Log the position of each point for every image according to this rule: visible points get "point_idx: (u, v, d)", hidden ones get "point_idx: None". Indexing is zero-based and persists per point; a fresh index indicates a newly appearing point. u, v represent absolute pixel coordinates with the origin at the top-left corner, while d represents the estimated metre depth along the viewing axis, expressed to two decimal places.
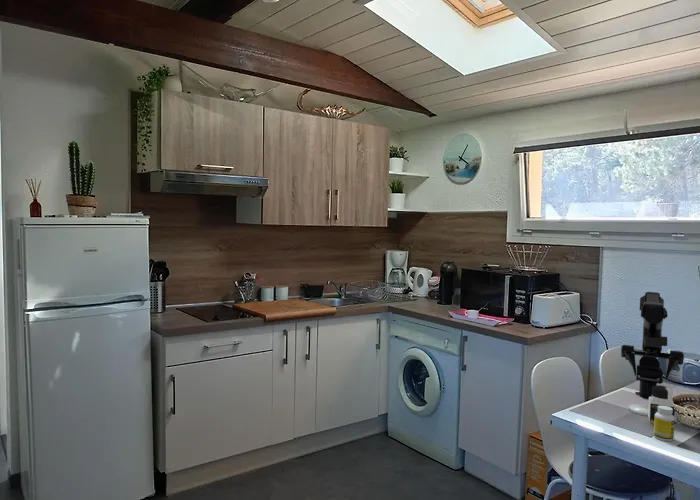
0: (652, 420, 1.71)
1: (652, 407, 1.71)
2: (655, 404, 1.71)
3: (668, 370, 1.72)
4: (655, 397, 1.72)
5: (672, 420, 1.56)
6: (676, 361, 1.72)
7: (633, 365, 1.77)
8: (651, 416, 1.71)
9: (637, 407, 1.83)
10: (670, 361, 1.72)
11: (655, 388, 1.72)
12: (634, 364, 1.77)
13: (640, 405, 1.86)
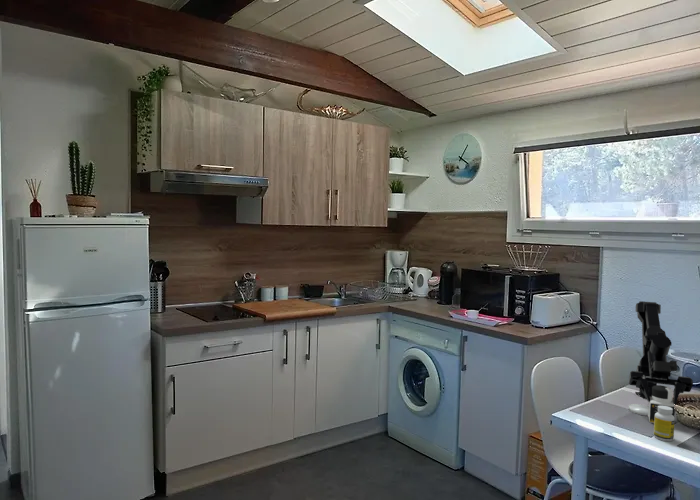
0: (652, 420, 1.71)
1: (652, 407, 1.71)
2: (655, 404, 1.71)
3: (676, 395, 1.72)
4: (655, 397, 1.72)
5: (672, 420, 1.56)
6: (683, 386, 1.73)
7: (646, 391, 1.75)
8: (651, 416, 1.71)
9: (637, 407, 1.83)
10: (677, 386, 1.73)
11: (655, 388, 1.72)
12: (647, 390, 1.75)
13: (640, 405, 1.86)
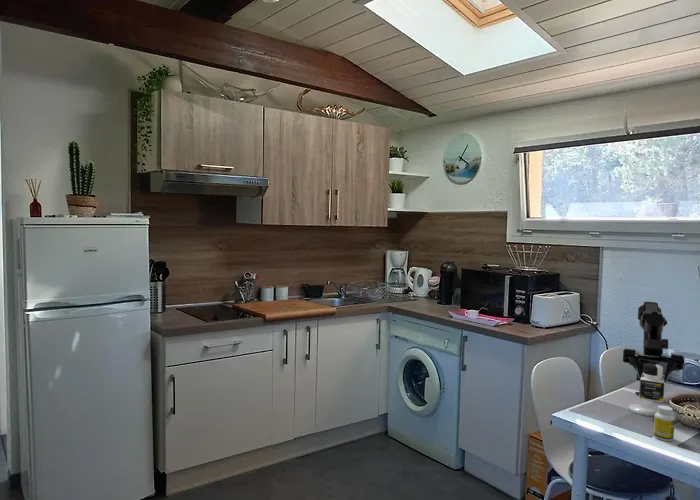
0: (642, 396, 1.76)
1: (642, 383, 1.76)
2: (645, 380, 1.76)
3: (667, 372, 1.76)
4: (645, 374, 1.77)
5: (672, 420, 1.56)
6: (674, 364, 1.76)
7: (638, 368, 1.80)
8: (641, 392, 1.76)
9: (637, 407, 1.83)
10: (668, 363, 1.76)
11: (645, 365, 1.77)
12: (639, 367, 1.80)
13: (640, 405, 1.86)
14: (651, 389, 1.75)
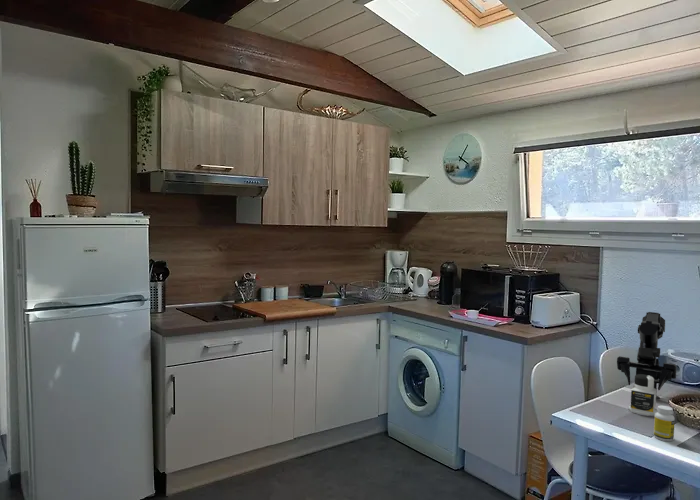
0: (633, 406, 1.81)
1: (632, 394, 1.81)
2: (635, 391, 1.81)
3: (660, 380, 1.79)
4: (636, 385, 1.82)
5: (672, 420, 1.56)
6: (669, 373, 1.80)
7: (627, 375, 1.85)
8: (632, 402, 1.81)
9: None
10: (663, 372, 1.80)
11: (637, 376, 1.82)
12: (628, 374, 1.85)
13: None
14: (641, 400, 1.80)
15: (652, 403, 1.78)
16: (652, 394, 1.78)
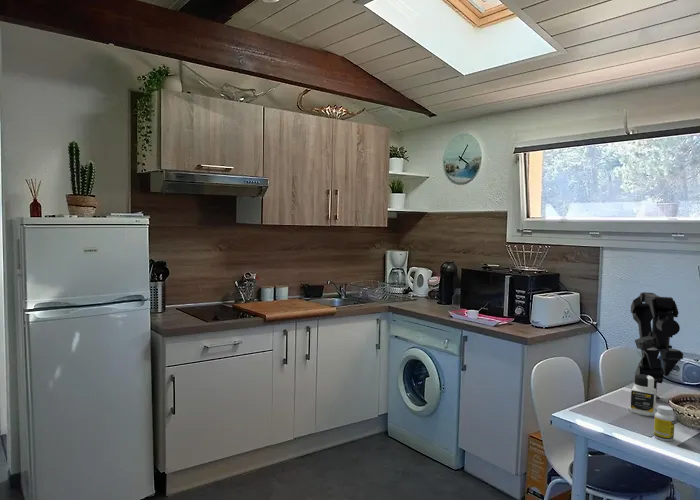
0: (633, 406, 1.81)
1: (632, 394, 1.81)
2: (635, 391, 1.81)
3: (664, 367, 1.83)
4: (636, 385, 1.82)
5: (672, 420, 1.56)
6: (666, 359, 1.80)
7: (648, 359, 1.93)
8: (632, 402, 1.81)
9: None
10: (662, 359, 1.82)
11: (637, 376, 1.82)
12: (648, 359, 1.93)
13: None
14: (641, 400, 1.80)
15: (652, 403, 1.78)
16: (652, 394, 1.78)
